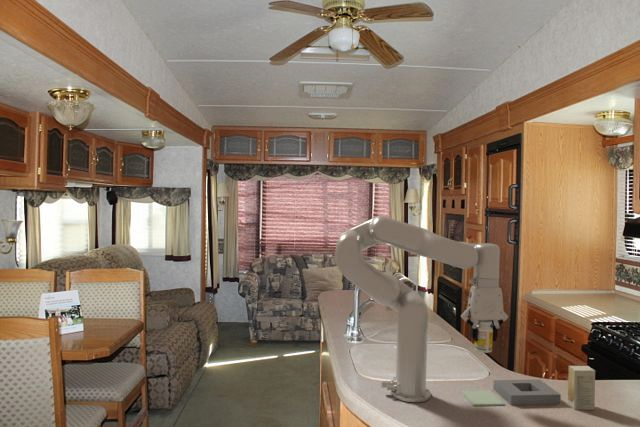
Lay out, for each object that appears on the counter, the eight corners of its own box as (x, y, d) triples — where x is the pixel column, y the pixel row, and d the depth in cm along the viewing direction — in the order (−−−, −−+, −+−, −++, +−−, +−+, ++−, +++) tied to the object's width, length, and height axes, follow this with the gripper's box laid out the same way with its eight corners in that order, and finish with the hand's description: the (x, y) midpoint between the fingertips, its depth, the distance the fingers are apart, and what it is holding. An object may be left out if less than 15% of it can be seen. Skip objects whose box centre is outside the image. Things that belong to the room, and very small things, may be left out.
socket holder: (510, 405, 147) (511, 395, 147) (493, 389, 159) (493, 380, 159) (560, 403, 148) (560, 394, 148) (539, 388, 160) (539, 379, 160)
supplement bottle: (478, 353, 148) (479, 322, 147) (471, 347, 153) (472, 317, 153) (495, 353, 148) (496, 322, 148) (487, 347, 154) (488, 317, 153)
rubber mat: (473, 405, 146) (473, 404, 146) (460, 392, 156) (460, 390, 156) (504, 405, 147) (504, 403, 147) (490, 391, 157) (490, 390, 157)
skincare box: (587, 404, 149) (589, 365, 148) (594, 410, 144) (596, 370, 144) (566, 403, 149) (568, 364, 148) (573, 409, 144) (574, 369, 144)
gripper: (463, 285, 145) (461, 343, 146) (517, 285, 147) (515, 343, 147) (454, 280, 153) (452, 336, 153) (506, 280, 154) (504, 336, 155)
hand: (483, 339), depth 150 cm, fingers closed on supplement bottle, 5 cm apart
